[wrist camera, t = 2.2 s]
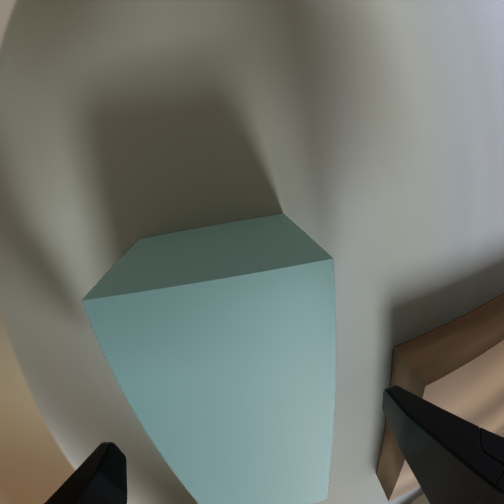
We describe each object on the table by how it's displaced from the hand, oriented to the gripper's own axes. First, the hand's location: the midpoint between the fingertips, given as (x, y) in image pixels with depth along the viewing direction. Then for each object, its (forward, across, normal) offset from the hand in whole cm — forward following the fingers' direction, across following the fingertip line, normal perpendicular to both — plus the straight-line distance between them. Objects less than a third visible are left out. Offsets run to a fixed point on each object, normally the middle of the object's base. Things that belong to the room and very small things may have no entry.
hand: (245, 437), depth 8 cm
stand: (+4, -14, +9) cm, 17 cm away
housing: (+4, 0, 0) cm, 4 cm away
